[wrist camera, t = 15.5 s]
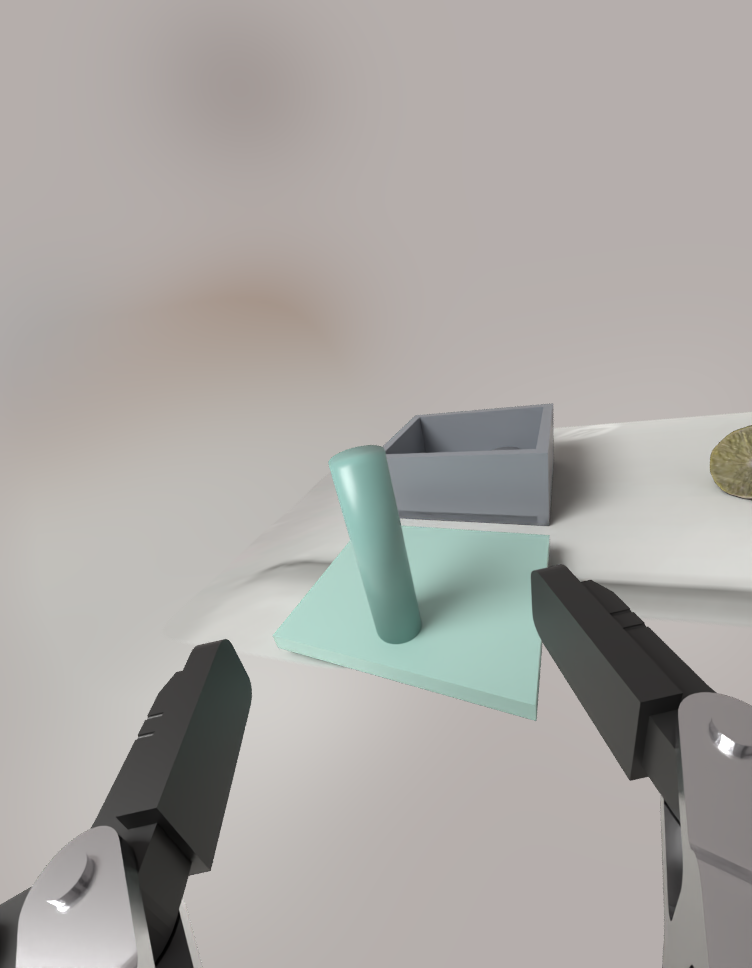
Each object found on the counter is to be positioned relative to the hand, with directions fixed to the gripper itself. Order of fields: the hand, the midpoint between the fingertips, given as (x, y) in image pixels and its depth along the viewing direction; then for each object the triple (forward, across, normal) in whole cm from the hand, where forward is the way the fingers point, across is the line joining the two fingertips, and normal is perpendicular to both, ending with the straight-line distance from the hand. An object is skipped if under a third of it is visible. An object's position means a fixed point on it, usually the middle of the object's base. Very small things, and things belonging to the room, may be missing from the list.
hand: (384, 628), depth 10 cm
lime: (+14, -27, +10) cm, 32 cm away
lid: (+11, -2, +10) cm, 15 cm away
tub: (+24, -10, +10) cm, 28 cm away
